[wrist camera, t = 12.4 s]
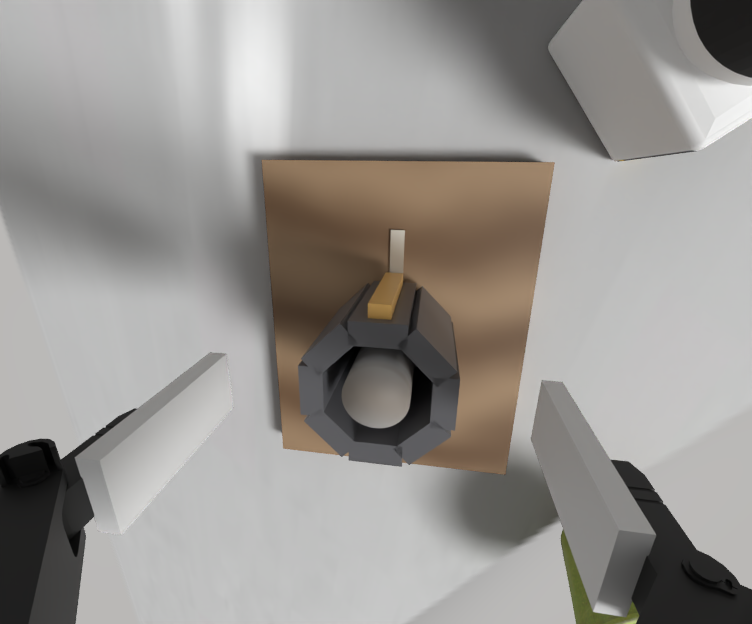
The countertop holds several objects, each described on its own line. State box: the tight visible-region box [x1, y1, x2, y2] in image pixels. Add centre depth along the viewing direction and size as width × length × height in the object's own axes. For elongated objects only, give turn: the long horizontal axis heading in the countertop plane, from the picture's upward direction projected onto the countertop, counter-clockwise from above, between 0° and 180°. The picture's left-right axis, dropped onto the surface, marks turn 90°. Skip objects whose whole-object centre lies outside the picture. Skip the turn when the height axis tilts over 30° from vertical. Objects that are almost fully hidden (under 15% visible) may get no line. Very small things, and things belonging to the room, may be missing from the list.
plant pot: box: [561, 530, 639, 624], centre depth 24 cm, size 9×9×9 cm
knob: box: [298, 272, 460, 467], centre depth 20 cm, size 7×8×7 cm
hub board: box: [262, 160, 555, 475], centre depth 21 cm, size 20×16×10 cm
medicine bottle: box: [548, 0, 752, 161], centre depth 13 cm, size 7×7×12 cm
